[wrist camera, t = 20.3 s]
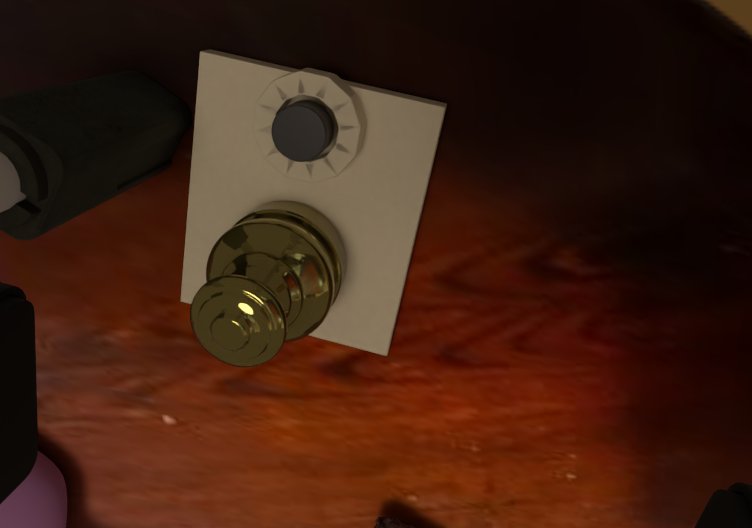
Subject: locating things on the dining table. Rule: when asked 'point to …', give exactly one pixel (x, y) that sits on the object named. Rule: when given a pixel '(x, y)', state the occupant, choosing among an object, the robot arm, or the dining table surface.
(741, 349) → the dining table surface
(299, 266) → the brass cabinet knob
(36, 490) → the teapot
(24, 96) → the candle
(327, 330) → the white base plate
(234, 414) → the dining table surface
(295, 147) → the dark round knob center
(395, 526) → the pine cone
